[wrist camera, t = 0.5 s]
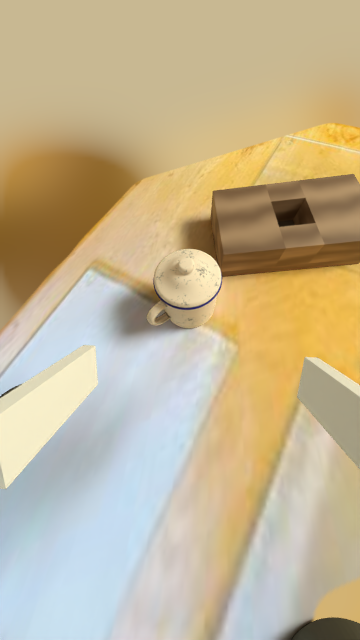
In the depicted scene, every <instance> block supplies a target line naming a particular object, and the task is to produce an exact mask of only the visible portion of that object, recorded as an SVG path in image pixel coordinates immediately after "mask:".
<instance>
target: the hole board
mask: <svg viewBox="0 0 360 640" xmlns="http://www.w3.org/2000/svg"><path fill="white" fill-rule="evenodd" d="M211 225H212V231H213V237H214V244H215V250H216V257H217V263H218V266H219V268H220V270H221V273H222V277H223V276H233V275H244V274H254V273H265V272H275V271H286V270H296V269H307V268H317V267H328V266H338V265H348V264H358V263H360V184H359V182H358V181H357V179H356V177H355V175H354V174H350V175H341V176H333V177H325V178H316V179H308V180H300V181H291V182H283V183H275V184H267V185H258V186H250V187H242V188H233V189H225V190H217V191H213V196H212V209H211Z"/></svg>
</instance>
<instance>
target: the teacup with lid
mask: <svg viewBox="0 0 360 640" xmlns="http://www.w3.org/2000/svg"><path fill="white" fill-rule="evenodd" d="M153 283H154V288H155V291H156V293H157V295H158V297H159V298H160V299H161V301H159V302H158V303H157V304H155V305H154V306H153V307H152V308H151V309H150V311H149V312H148V314H147V320H148V322H149V323H150V324H151V325H154V326H157V325H161V324H163V323H164V322H166V321H167V320H169V319H170V320H171V321H172V322H173V323H174V324H176V325H178V326H180V327H183V328H195V327H199V326H201V325H203V324H204V323H206V322H207V321H208V320H209V319H210V318H211V316H212V314H213V312H214V309H215V304H216V299H217V294H218V292H219V290H220V288H221V284H222V273H221V270H220V268H219V266H218V264H217V262H216V261H215V260H214V259H213V258H212V257H211V256H210V255H208V254H207V253H205V252H203V251H200V250H196V249H182V250H178V251H175V252H173V253H171V254H169V255H167V256H166V257H165V258H164V259H163V260H162V261H161V262H160V263H159V265H158V266H157V268H156V270H155V274H154V280H153ZM163 309H165V313H164V314H162V315H161V316H159V317H157V318H156V316H157V315H158V314H159V313H160V312H161V311H162V310H163Z"/></svg>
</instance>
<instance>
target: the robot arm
mask: <svg viewBox="0 0 360 640" xmlns="http://www.w3.org/2000/svg"><path fill="white" fill-rule="evenodd" d="M97 385H98V379H97V365H96V350H95V346H90V345H83V346H82V347H80V348H78V349H77V350H75V351H74V352H72V353H71V354H69V355H67V356H66V357H64V358H63V359H61V360H60V361H58V362H56V363H55V364H53V365H52V366H50V367H49V368H47V369H45V370H44V371H42V372H41V373H39V374H38V375H36V376H34V377H33V378H31V379H30V380H28V381H26V382H25V383H23V384H21V385H18V386H16V387H13V388H12V389H10V390H8V391H7V392H5V393H4V394H2V396H0V489H7V487H8V486H9V485H10V484H11V483H12V482H13V481H14V479H15V478H16V477H17V476H18V475H19V474H20V473H21V471H22V470H23V469H24V468H25V467H26V466H27V465H28V463H29V462H30V461H31V460H32V459H33V458H34V457H35V455H36V454H37V453H38V452H39V451H40V450H41V449H42V447H43V446H44V445H45V444H46V443H47V442H48V441H49V439H50V438H51V437H52V436H53V435H54V434H55V433H56V431H57V430H58V429H59V428H60V427H61V426H62V425H63V423H64V422H65V421H66V420H67V419H68V418H69V417H70V415H71V414H72V413H73V412H74V411H75V410H76V409H77V407H78V406H79V405H80V404H81V403H82V402H83V401H84V399H85V398H86V397H87V396H88V395H89V394H90V393H91V391H92V390H93V389H94V388H95V387H96V386H97ZM297 397H298V399H299V400H300V401H301V402H302V403H303V404H304V406H305V407H306V408H307V409H308V410H309V411H310V412H311V414H312V415H313V416H314V417H315V418H316V419H317V421H318V422H319V423H320V424H321V425H322V426H323V428H324V429H325V430H326V431H327V432H328V433H329V434H330V436H331V437H332V438H333V439H334V440H335V441H336V443H337V444H338V445H339V446H340V447H341V448H342V450H343V451H344V452H345V453H346V454H347V455H348V456H349V458H350V459H351V460H352V461H353V462H354V463H355V465H356V466H357V467H358V468H359V469H360V385H359V384H357V383H356V382H354V381H353V380H351V379H350V378H348V377H346V376H345V375H343V374H342V373H340V372H339V371H337V370H336V369H334V368H333V367H331V366H330V365H328V364H327V363H325V362H323V361H322V360H320V359H319V358H312V357H305V359H304V364H303V369H302V375H301V380H300V385H299V390H298V396H297ZM292 640H360V624H359V623H357V622H354V621H351V620H347V619H342V618H324V619H319V620H316V621H314V622H311V623H309V624H308V625H306V626H305V627H303V628H302V629H301V630H300V631H299V632H297V634H296V635H295V636H294V637H293V638H292Z"/></svg>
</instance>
